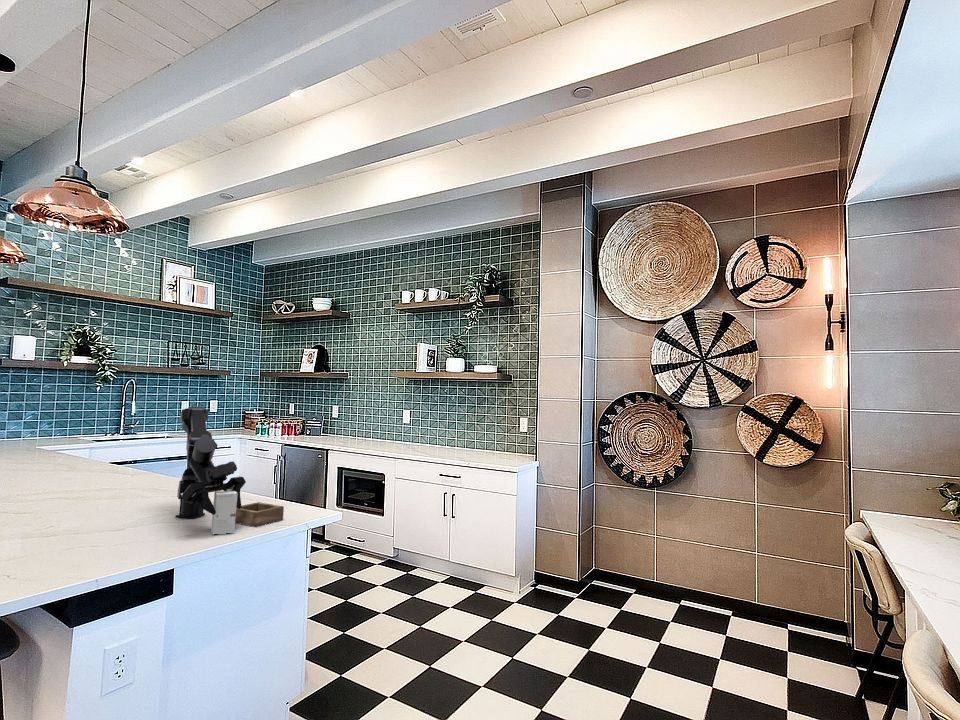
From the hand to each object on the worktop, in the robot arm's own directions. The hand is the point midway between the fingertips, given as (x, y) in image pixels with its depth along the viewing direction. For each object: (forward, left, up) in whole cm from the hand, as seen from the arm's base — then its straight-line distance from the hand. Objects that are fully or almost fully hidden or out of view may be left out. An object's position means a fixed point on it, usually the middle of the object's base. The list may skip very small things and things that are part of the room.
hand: (227, 511), depth 163 cm
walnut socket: (0, +16, -7) cm, 18 cm away
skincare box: (-1, 0, -7) cm, 7 cm away
